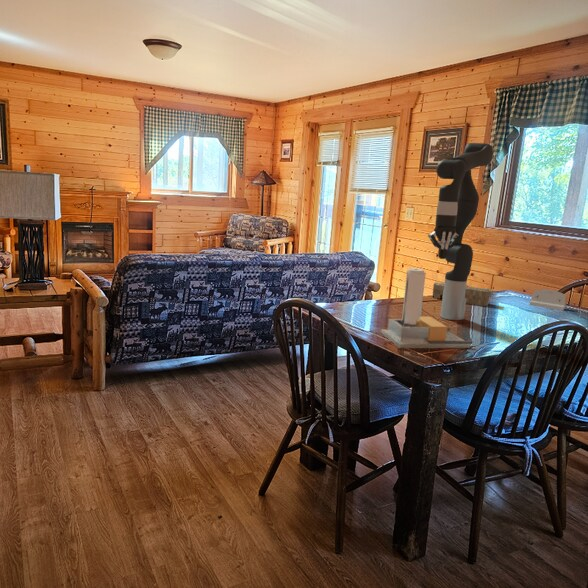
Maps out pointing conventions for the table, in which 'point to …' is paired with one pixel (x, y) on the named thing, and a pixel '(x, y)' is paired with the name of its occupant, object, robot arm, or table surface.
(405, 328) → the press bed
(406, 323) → the air filter
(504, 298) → the table surface
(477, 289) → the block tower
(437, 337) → the block
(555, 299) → the hinge
